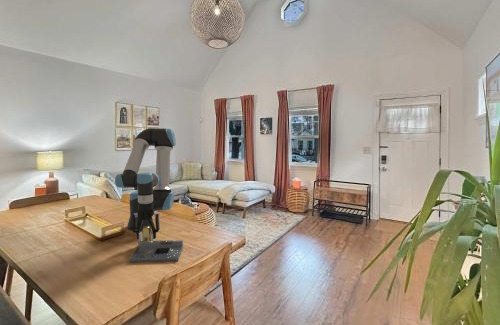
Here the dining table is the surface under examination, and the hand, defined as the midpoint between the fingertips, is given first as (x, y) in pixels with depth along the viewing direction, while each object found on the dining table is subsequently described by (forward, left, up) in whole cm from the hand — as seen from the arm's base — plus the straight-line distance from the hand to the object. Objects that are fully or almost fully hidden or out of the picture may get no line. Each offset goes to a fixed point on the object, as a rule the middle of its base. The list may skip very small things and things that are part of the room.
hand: (146, 244), depth 137 cm
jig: (+14, -5, 0) cm, 15 cm away
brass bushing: (0, 0, 0) cm, 0 cm away
